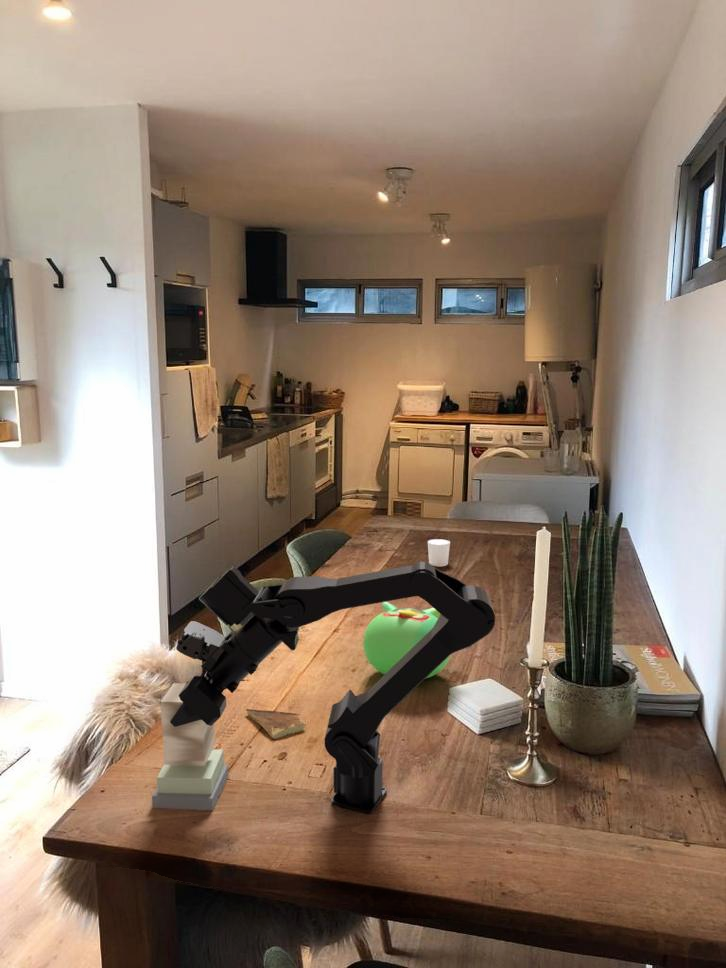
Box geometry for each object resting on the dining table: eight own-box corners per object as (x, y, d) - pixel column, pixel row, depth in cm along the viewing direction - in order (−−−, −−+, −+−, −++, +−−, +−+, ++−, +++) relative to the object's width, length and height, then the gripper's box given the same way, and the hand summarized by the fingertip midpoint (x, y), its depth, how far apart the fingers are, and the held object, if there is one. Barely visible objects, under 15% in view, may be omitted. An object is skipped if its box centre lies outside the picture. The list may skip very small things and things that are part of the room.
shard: (246, 716, 140) (245, 707, 140) (283, 706, 144) (283, 697, 144) (271, 742, 131) (271, 733, 131) (311, 731, 135) (311, 721, 135)
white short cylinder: (450, 567, 230) (451, 544, 229) (427, 567, 230) (428, 544, 229) (448, 560, 237) (449, 538, 236) (426, 560, 237) (426, 538, 236)
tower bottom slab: (228, 779, 120) (228, 764, 120) (212, 814, 112) (212, 798, 111) (172, 776, 121) (172, 762, 121) (152, 811, 112) (151, 795, 112)
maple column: (214, 744, 118) (212, 684, 116) (204, 766, 112) (201, 702, 110) (176, 743, 118) (173, 683, 117) (164, 764, 113) (160, 701, 111)
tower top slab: (223, 764, 120) (223, 749, 120) (211, 794, 112) (210, 778, 112) (173, 763, 121) (172, 748, 120) (157, 793, 113) (156, 777, 112)
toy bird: (352, 685, 152) (351, 614, 149) (379, 652, 168) (379, 588, 165) (440, 699, 146) (441, 626, 143) (460, 664, 162) (462, 598, 159)
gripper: (225, 587, 120) (160, 651, 123) (190, 631, 102) (115, 706, 104) (276, 635, 121) (210, 698, 124) (251, 688, 102) (174, 761, 105)
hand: (179, 713), depth 114 cm, fingers closed on maple column, 6 cm apart
